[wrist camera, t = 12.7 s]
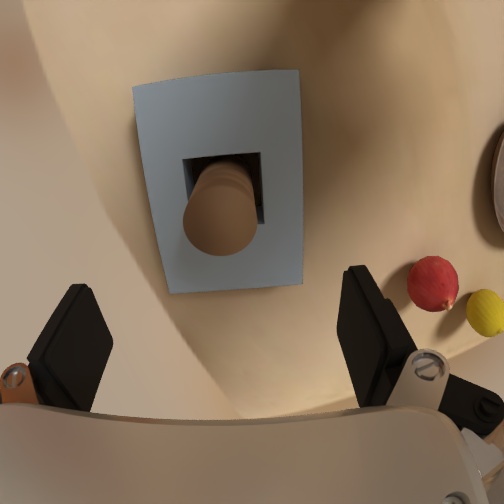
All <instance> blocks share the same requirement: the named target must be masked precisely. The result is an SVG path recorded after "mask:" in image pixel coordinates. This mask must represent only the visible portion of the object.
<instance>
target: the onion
mask: <svg viewBox="0 0 504 504" xmlns="http://www.w3.org/2000/svg"><path fill="white" fill-rule="evenodd" d="M407 285H408V293H409V296H410V298H411V299H412V301H413V302H414V303H415V304H416V306H418V307H419V308H421V309H423V310H426V311H429V312H439V311H443V310H445V309H446V310H447V311H449V310H450V309H451V308H452V307H453V303H454V302H455V300H456V297H457V294H458V290H459V285H458V276H457V273H456V271H455V269H454V267H453V266H452V265H451V263H450V262H449V261H447V260H445V259H443V258H441V257H439V256H427V257H425V258H422V259H420V260H419V261H418V262H417V263H415V264H414V266H413V267H412V269H411V270H410V272H409V276H408V283H407Z"/></svg>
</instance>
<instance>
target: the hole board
mask: <svg viewBox="0 0 504 504" xmlns="http://www.w3.org/2000/svg"><path fill="white" fill-rule="evenodd" d="M132 91H133V100H134V108H135V116H136V123H137V131H138V138H139V145H140V151H141V157H142V164H143V170H144V175H145V181H146V187H147V192H148V198H149V203H150V208H151V213H152V218H153V223H154V228H155V233H156V237H157V242H158V246H159V251H160V255H161V260H162V264H163V268H164V272H165V276H166V281H167V285H168V289H169V293H170V294H175V293H192V292H208V291H222V290H236V289H250V288H262V287H275V286H286V285H298V284H303V153H302V121H301V98H300V78H299V69H287V70H257V71H241V72H229V73H218V74H209V75H200V76H193V77H186V78H179V79H172V80H166V81H160V82H155V83H150V84H144V85H140V86H135V87H132ZM252 152H258V160H259V175H260V192H261V206H256V215H257V230H256V233H255V236H254V238H253V239H252V241H251V242H250V243H249V245H248V246H246V247H245V248H244V249H243V250H241V251H239V252H238V253H235V254H232V255H228V256H213V255H209V254H206V253H204V252H202V251H200V250H198V249H197V248H196V247H194V246H193V245H192V244H191V242H190V241H189V240H188V238H187V236H186V234H185V232H184V228H183V215H184V211H185V208H186V206H187V204H188V201H189V199H190V197H191V194H192V192H193V189H194V179H193V172H192V164H191V158H197V157H207V156H217V155H227V154H239V153H252Z"/></svg>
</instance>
